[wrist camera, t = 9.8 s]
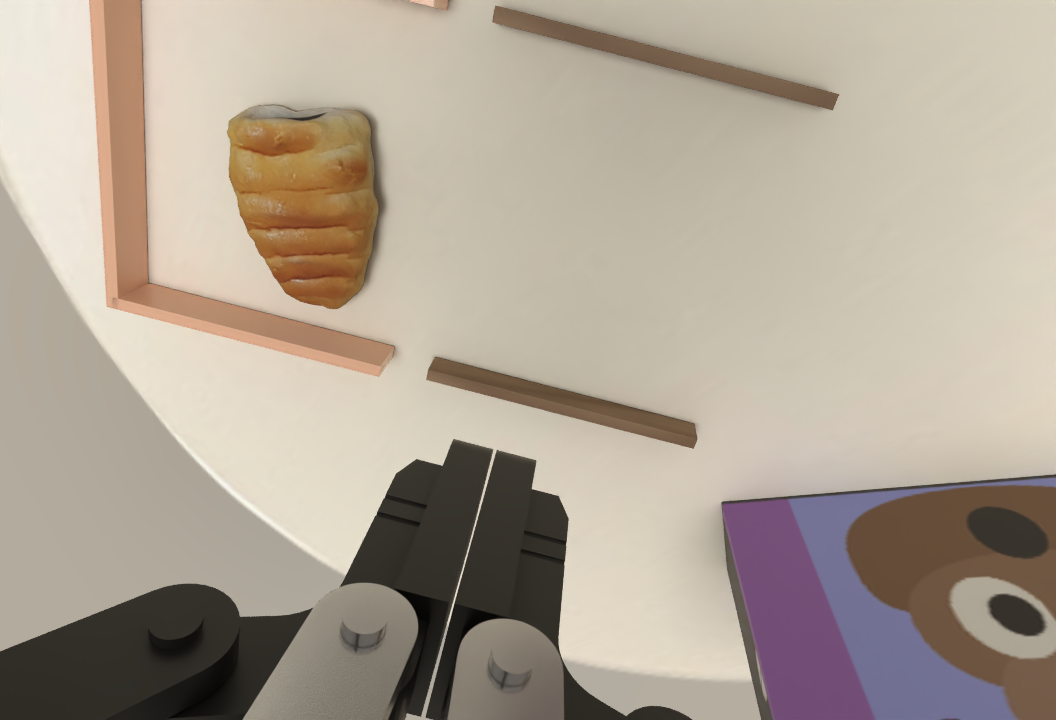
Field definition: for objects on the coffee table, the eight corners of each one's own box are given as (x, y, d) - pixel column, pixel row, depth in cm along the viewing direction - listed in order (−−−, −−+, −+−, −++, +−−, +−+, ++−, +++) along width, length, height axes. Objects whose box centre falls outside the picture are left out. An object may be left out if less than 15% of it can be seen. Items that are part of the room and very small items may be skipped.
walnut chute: (500, 7, 28) (495, 5, 26) (828, 91, 28) (839, 94, 26) (433, 367, 35) (426, 379, 34) (690, 433, 35) (693, 448, 34)
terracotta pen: (124, -90, 28) (83, -102, 25) (449, -6, 28) (436, -11, 25) (137, 290, 35) (106, 306, 33) (392, 356, 35) (378, 376, 33)
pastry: (399, 297, 34) (374, 326, 31) (273, 296, 35) (236, 324, 31) (375, 100, 30) (344, 108, 27) (234, 104, 31) (186, 112, 27)
